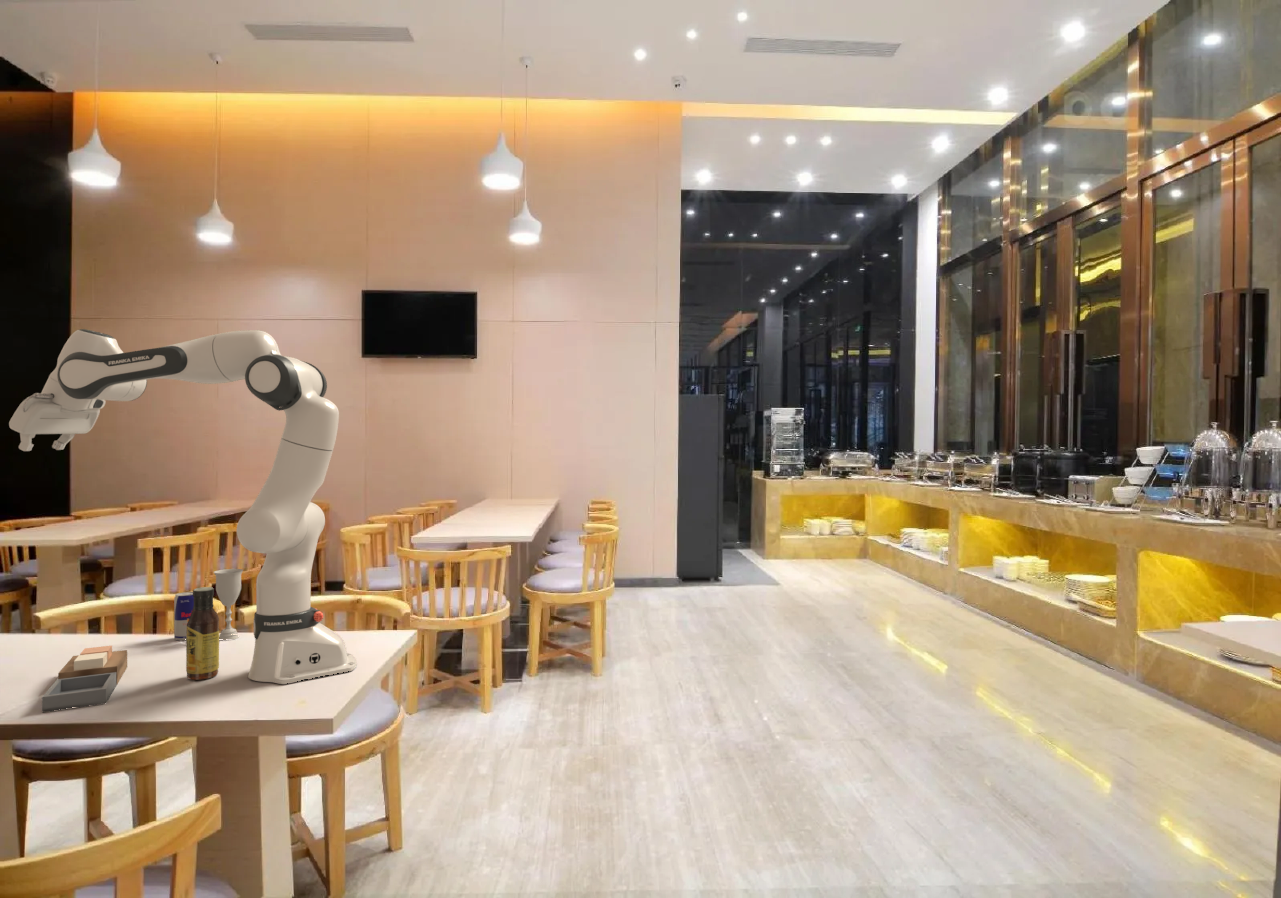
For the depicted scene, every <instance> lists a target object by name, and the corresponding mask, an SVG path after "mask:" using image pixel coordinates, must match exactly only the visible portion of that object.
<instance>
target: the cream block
mask: <svg viewBox="0 0 1281 898" xmlns="http://www.w3.org/2000/svg"><path fill="white" fill-rule="evenodd" d="M106 662H107V652H104V653H95V654H86V655H80V654H79V656H78V657H77V658H76V659H75V661H74V671H76V670H84V669H93V668H101V667H104V665H105V664H106Z"/></svg>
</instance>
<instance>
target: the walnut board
mask: <svg viewBox="0 0 1281 898" xmlns="http://www.w3.org/2000/svg"><path fill="white" fill-rule="evenodd" d="M79 655H80V654H79ZM79 655H73V656H71V658H70V659H69V660H68V662H67V663H65V665H64V666H63V667H62V668H61V669H60V671H58V673H57V674H58V675H57V676H58V678H57V679H64V678H72V677H80V676H89V675H97V674H105V673H113V672H116V686H117V685H118V684H119V682H120V680H122V678H123V676H124V673H125V672H126V670H127V668H128V649H124V650H122V649H121V650H115V651H113V650H112V655H111V657H110V658H109V660H107V662H106V664H105V665H104V667H101V668H93V669H84V670H76V671H74V661H75V659H76V658H77V657H78V656H79Z"/></svg>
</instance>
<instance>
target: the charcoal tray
mask: <svg viewBox="0 0 1281 898" xmlns="http://www.w3.org/2000/svg"><path fill="white" fill-rule="evenodd" d="M116 687H117V685H116V672H113V673H105V674H97V675H89V676H80V677H72V678H64V679H58V678H57V679H56V680H55V682H53V684H52V685H51V686H50V687H49V688H48V689H47V691H46V692H45V693H44V694H43V695H42V697H41V712H42V711H50V712H55V711H54V710H58V711H62V710H61V709H65V710H67V709H66V708H72V707H79V708H85V707H84V706H86V707H90V706H89V705H93V706H98V705H97V704H101V705H106V704H107V703H108V701H109V699H110V698H111V697H112V694H113V692H114V691H115V689H116ZM105 703H106V704H105ZM59 709H60V710H59ZM72 709H73V708H72Z"/></svg>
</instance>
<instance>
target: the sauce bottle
mask: <svg viewBox="0 0 1281 898" xmlns="http://www.w3.org/2000/svg"><path fill="white" fill-rule="evenodd" d="M192 592H193V597H194V606H193V610H192V613H191V616H190V618H189V621H188V623H187V639H186V640H185V641H186V645H185V646H186V647H185V648H186V649H185V651H186V655H185V656H186V657H185V658H186V659H185V660H186V661H185V665H186V666H185V669H186V670H185V671H186V677H187V679H188V680H192V681H203V680H208V679H212V678H215V677H216V676H217V675H219V667H220V640H219V636H220V627H219V626H220V625H219V624H220V623H219V622H220V618H219V615H218V613H217V611H215V609H214V596H215V595H214V594H215V588H213V587H212V586H204V587H197V588H194V589H193V590H192Z"/></svg>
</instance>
